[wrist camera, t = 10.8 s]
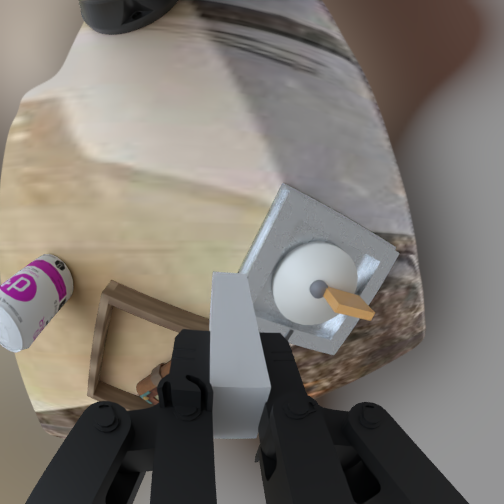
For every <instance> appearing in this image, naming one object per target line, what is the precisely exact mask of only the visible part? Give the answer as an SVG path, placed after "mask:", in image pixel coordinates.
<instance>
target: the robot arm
mask: <svg viewBox="0 0 504 504" xmlns="http://www.w3.org/2000/svg"><path fill="white" fill-rule="evenodd" d="M177 1H178V0H79V4H80V8H81V14H82V17H83V19H84V21H85V22H86V24H87V25H89V26H90V27H91V28H92V29H93V30H94V31H96V32H99V33H102V34H109V35H115V34H123V33H127V32H131V31H134V30H137V29H140V28H142V27H144V26H147V25H149V24H150V23H152V22H154V21H156V20H157V19H159V18H160V17H162V16H163V15H164V14H166V13H167V12H168V11H169V10H170V9H171V8H172V7H173V6H174V5H175V4H176V3H177ZM157 392H158V398H159V403H157V404H156V405H154V406H152V407H150V408H145V409H139V410H130V411H127V410H126V409H125V408H124V407H122V406H121V405H119V404H118V403H115V402H111V401H99V402H96V403H94V404H91V405H90V406H89V407H88V408H87V409H86V410H85V411H84V412H83V414H82V415H81V417H80V418H79V420H78V421H77V423H76V424H75V425H74V427H73V428H72V430H71V431H70V433H69V434H68V436H67V437H66V439H65V440H64V442H63V444H62V445H61V446H60V448H59V450H58V451H57V453H56V454H55V456H54V457H53V459H52V461H51V462H50V464H49V465H48V467H47V468H46V470H45V471H44V473H43V475H42V476H41V478H40V479H39V481H38V483H37V485H36V486H35V488H34V489H33V491H32V493H31V494H30V496H29V498H28V499H27V501H26V503H25V504H133V501H134V499H135V496H136V494H137V492H138V489H139V487H140V485H141V482H142V480H143V478H144V475H145V473H146V471H153V472H152V483H151V497H150V504H217V499H216V485H215V466H214V444H213V438H223V439H239V438H240V439H241V438H243V439H246V438H256V437H257V434H258V432H259V438H260V445H259V448H258V451H257V453H256V456H255V462H258V461H260V468H261V475H262V481H263V486H264V493H265V499H266V504H469V503H468V502H467V501H466V500H465V499H464V498H463V496H462V495H461V494H460V493H459V492H458V491H457V490H456V489H455V488H454V486H453V485H452V484H451V483H450V482H449V481H448V480H447V479H446V477H445V476H444V475H443V474H442V473H441V472H440V471H439V470H438V468H437V467H436V466H435V465H434V464H433V463H432V462H431V461H430V460H429V459H428V458H427V456H426V455H425V454H424V453H423V452H422V451H421V449H420V448H419V447H418V446H417V445H416V444H415V443H414V442H413V440H412V439H411V438H410V437H409V436H408V435H407V434H406V433H405V431H404V430H403V429H402V428H401V427H400V426H399V425H398V424H397V422H396V421H395V420H394V419H393V418H392V417H391V416H390V415H389V414H388V413H387V411H386V410H385V409H383V408H382V407H381V406H379V405H377V404H375V403H370V402H362V403H358V404H356V405H355V406H354V407H352V408H351V410H350V411H349V412H348V411H339V410H332V409H327V408H323V407H321V406H319V405H318V403H317V402H316V401H315V400H314V399H313V398H311V397H310V396H308V395H307V393H306V391H305V388H304V385H303V382H302V379H301V377H300V374H299V371H298V368H297V365H296V362H295V359H294V356H293V354H292V350H291V348H290V345H289V342H288V341H287V340H286V339H285V337H284V336H283V335H282V334H281V333H265V332H259V330H258V326H257V321H256V316H255V312H254V307H253V302H252V298H251V293H250V288H249V284H248V279H247V274H240V273H226V272H213V277H212V291H211V306H210V323H209V331H203V330H190V329H182V330H181V332H180V333H179V334H178V335H177V336H176V337H175V342H174V348H173V353H172V359H171V365H170V371H169V374H167V375H166V376H165V377H163V378H162V379H161V380H160V382H159V384H158V386H157Z"/></svg>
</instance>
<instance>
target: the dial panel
mask: <svg viewBox="0 0 504 504" xmlns="http://www.w3.org/2000/svg"><path fill="white" fill-rule="evenodd" d="M315 241H323V242H329V243H332V244H334V245H337V246H338V247H340V248H341V249H342V250H343V251H345V252H346V253H347V254H348V255H349V256H350V257H351V258H352V260H353V262H354V263H355V266H356V269H357V276H358V281H357V287H356V291H355V294H356V295H359V296H360V297H361V298H362V299H363V300H364V301H365V303H366V304H367V305H368V306H369V304H370V302H371V301H372V299H373V298H374V296H375V294H376V293H377V291H378V290H379V288H380V286H381V285H382V283H383V281H384V280H385V278H386V276H387V275H388V273H389V271H390V269H391V268H392V266H393V264H394V262H395V261H396V259H397V257H398V255H399V253H398V252H397V251H395V249H396V247H395V246H393V245H392V244H390V243H389V242H387V241H385V240H384V239H382V238H381V237H379V236H377V235H376V234H374V233H372V232H371V231H369V230H367V229H366V228H364V227H362V226H361V225H359V224H357V223H356V222H354V221H352V220H350V219H349V218H347V217H345V216H344V215H342V214H340V213H338V212H336V211H335V210H333V209H331V208H329V207H328V206H326V205H324V204H322V203H320V202H318V201H317V200H315V199H313V198H311V197H309V196H307V195H305V194H303V193H302V192H300V191H298V190H296V189H294V188H292V187H290V186H288V185H286V184H284V183H282V185H281V187H280V189H279V191H278V193H277V195H276V197H275V199H274V201H273V203H272V205H271V207H270V209H269V211H268V213H267V215H266V217H265V219H264V221H263V223H262V225H261V227H260V229H259V231H258V233H257V235H256V237H255V239H254V241H253V243H252V245H251V247H250V249H249V251H248V253H247V255H246V257H245V259H244V261H243V263H242V265H241V267H240V269H239V271H238V273H240V274H247V279H248V284H249V288H250V293H251V298H252V302H253V307H254V312H255V316H256V321H257V326H258V330H259V332H265V333H281V334H282V335H283V336H284V337H285V339H286V340H287V341H288V342H289V343H291V344H294V345H298V346H301V347H305V348H308V349H312V350H316V351H319V352H323V353H327V354H331V355H334V354H335V353H336V352H337V350H338V349H339V348H340V346H341V345H342V344H343V342H344V341H345V339H346V338H347V337H348V335H349V334H350V332H351V331H352V329H353V328H354V327H355V325H356V324H357V322H358V321H359V319H360V318H356V317H352V316H348V315H343V314H338V315H337V316H336V317H334V318H332V319H330V320H328V321H326V322H323V323H320V324H315V325H302V324H298V323H294V322H292V321H290V320H289V319H287V318H286V317H285V316H283V314H282V313H281V312H280V311H279V309H278V307H277V305H276V303H275V300H274V297H273V293H272V280H273V276H274V273H275V270H276V268H277V266H278V265H279V263H280V262H281V260H282V259H283V258H284V257H285V256H286V255H287V254H288V253H289V252H290V251H292V250H293V249H295V248H296V247H298V246H300V245H303V244H305V243H309V242H315Z"/></svg>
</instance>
